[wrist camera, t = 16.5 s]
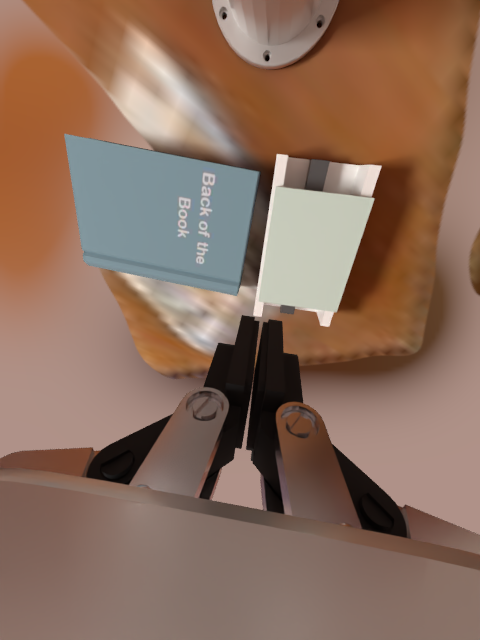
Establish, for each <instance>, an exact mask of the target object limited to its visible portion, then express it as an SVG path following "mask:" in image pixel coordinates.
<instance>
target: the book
mask: <svg viewBox="0 0 480 640" xmlns="http://www.w3.org/2000/svg"><path fill="white" fill-rule="evenodd" d="M65 141H66V148H67V154H68V161H69V167H70V174H71V180H72V187H73V193H74V200H75V207H76V213H77V219H78V226H79V233H80V239H81V246H82V250H83V251H84V253H83V259H84V262H85V263H87V264H88V265H89V266H94V267H99V268H104V269H109V270H114V271H118V272H123V273H128V274H133V275H138V276H143V277H148V278H153V279H157V280H162V281H167V282H172V283H177V284H182V285H187V286H191V287H196V288H201V289H206V290H211V291H216V292H221V293H225V294H230V295H235V296H237V294H238V291H239V288H240V284H241V278H242V273H243V267H244V262H245V256H246V251H247V245H248V239H249V234H250V228H251V223H252V217H253V212H254V206H255V201H256V195H257V190H258V184H259V179H260V173H261V172H260V171H255V170H250V169H245V168H239V167H234V166H229V165H224V164H219V163H214V162H209V161H204V160H198V159H193V158H188V157H183V156H178V155H173V154H168V153H163V152H157V151H153V150H148V149H142V148H137V147H132V146H127V145H122V144H116V143H112V142H107V141H101V140H96V139H91V138H83V137H78V136H72V135H67V134H65Z"/></svg>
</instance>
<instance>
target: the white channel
mask: <svg viewBox="0 0 480 640" xmlns="http://www.w3.org/2000/svg"><path fill="white" fill-rule="evenodd" d="M381 167H382V166H378V165H352V164H343V163H335V162H330V161H324V160H316V159H311V160H308V159H300V158H291V157H288V155H281V154H277V157H276V164H275V171H274V178H273V185H272V192H271V198H270V205H269V212H268V219H267V226H266V232H265V239H264V246H263V253H262V260H261V267H260V273H259V280H258V287H257V294H256V301H255V308H254V314H253V316H260V317H261V316H262V310H263V304H266V305H273V306H280V312H281V313H287V314H294V310H295V309H301V310H307V311H314V312H317V315H318V318H319V322H320V325H321V326H327V327H329V325H330V322H331V319H332V316H333V313H334V312H331V311H324V310H316V309H309V308H302V307H295V306H288V305H280V304H273V303H266V302H259V293H260V287H261V280H262V274H263V267H264V261H265V254H266V248H267V241H268V235H269V228H270V222H271V215H272V208H273V202H274V195H275V189H276V186H280V187H288V188H297V189H305V190H313V191H322V192H330V193H338V194H347V195H355V196H363V197H372V194H373V191H374V188H375V185H376V182H377V179H378V176H379V173H380V170H381Z"/></svg>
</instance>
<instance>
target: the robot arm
mask: <svg viewBox="0 0 480 640" xmlns="http://www.w3.org/2000/svg"><path fill="white" fill-rule="evenodd" d="M338 2H339V0H212V3H213V8H214V11H215V15H216V18H217V21H218V24H219V26H220V29H221V31H222V34H223V35H224V37H225V39H226V40H227V42H228V44H229V46H230V47H231V48H232V49H233V50H234V52H235V53H236V54H237V55H238V56H239V57H240V58H242V59H243V60H244V61H246V62H247V63H248V64H251V65H253V66H255V67H257V68H263V69H280V68H283V67H286V66H289V65H291V64H293V63H295V62H296V61H298V60H300V59H301V58H303V57H304V56H305V55H306V54H307V53H308V52H309V51H310V50H311V49H313V47H314V46H315V45H316V44H317V42H318V41H319V40H320V39H321V37H322V36H323V34H324V33H325V31H326V29H327V27H328V26H329V24H330V22H331V20H332V18H333V15H334V13H335V10H336V8H337V5H338ZM225 14H226V15H227V18H226V19H224V20H223V16H224V15H225ZM319 22H320V23H321V24H322V27H321V28H318V27H317V24H318V23H319ZM266 56H269V57H270V59H269V61H265V57H266ZM254 319H255V317H250V316H243V315H242V317H241V321H240V325H239V330H238V334H237V338H236V342H235V345H230V344H223V343H218V345H217V348H216V351H215V354H214V357H213V360H212V363H211V366H210V369H209V372H208V375H207V378H206V381H205V384H204V387H203V388H197V389H194V390H192V391H190V392H189V393H188V394H186V395H185V397H184V398H183V399H182V401H181V402H180V404H179V405H178V407H177V409H176V410H175V412H174V413H173V414H172V415H170V416H168V417H165V418H163V419H162V420H159V421H158V422H155V423H153V424H151V425H149V426H147V427H145V428H143V429H141V430H139V431H137V432H135V433H133V434H131V435H129V436H126V437H124V438H122V439H120V440H118V441H116V442H114V443H112V444H110V445H109V446H107V447H105V448H104V449H102V450H101V451H94V450H93V448H71V449H50V450H30V451H19V452H14V453H11V454H9V455H6V456H4V457H2V458H0V640H480V535H478V534H476V533H474V532H471V531H469V530H466V529H464V528H462V527H459V526H457V525H454V524H452V523H449V522H447V521H444V520H442V519H440V518H437V517H435V516H432V515H429V514H427V513H425V512H423V511H420V510H418V509H415V508H413V507H410V506H408V505H405V506H404V507H403V508H402V507H400V506H398V505H397V504H396V503H395V502H394V501H393V500H392V499H391V497H390V496H388V495H387V494H386V493H385V492H384V491H383V490H382V489H381V488H380V487H379V486H378V485H377V484H376V483H375V482H373V481H372V480H371V479H370V478H369V477H368V476H367V475H366V474H365V473H364V472H362V471H361V470H360V469H359V468H358V467H357V466H356V465H355V464H354V463H353V462H351V461H350V460H349V459H348V458H347V457H346V456H345V455H344V454H343V453H342V452H340V451H339V450H338V449H337V448H336V447H335V446H334V445H333V444H332V443H331V440H330V438H329V435H328V432H327V429H326V426H325V424H324V421H323V420H322V417H321V416H320V415H319V414H318V412H317V411H316V410H314V409H313V408H311V407H310V406H308V405H306V404H303V397H302V388H301V379H300V371H299V362H298V356H297V355H294V354H288V353H283V327H282V321H277V320H270V319H269V321H268V323H267V322H263V327H262V333H261V339H260V344H259V350H258V356H257V362H256V368H255V374H254V383H253V391H252V401H251V409H250V418H249V428H248V437H247V446H246V449H247V450H251V451H252V454H251V461H253V464H254V465H255V466H256V468H257V469H258V470H259V471H260V473H261V477H260V483H261V494H262V505H263V510H259V509H254V508H248V507H243V506H238V505H233V504H227V503H221V502H217V501H212V498H213V495H214V492H215V489H216V486H217V483H218V480H219V477H220V474H221V470H222V467H223V466H225V465H226V464H228V463H229V462H230V461H232V460H233V459H234V453H235V448H240V449H241V448H242V442H243V436H244V430H245V425H246V418H247V413H248V407H249V401H250V395H251V389H252V382H253V373H254V364H255V355H256V347H257V338H258V329H259V321H254Z"/></svg>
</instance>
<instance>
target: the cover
mask: <svg viewBox="0 0 480 640" xmlns="http://www.w3.org/2000/svg"><path fill="white" fill-rule="evenodd" d="M374 199H375V198H372V197H363V196H355V195H347V194H338V193H330V192H322V191H313V190H305V189H297V188H288V187H280V186H276V189H275V195H274V202H273V208H272V215H271V222H270V228H269V235H268V241H267V248H266V254H265V261H264V267H263V274H262V280H261V287H260V293H259V302H266V303H273V304H280V305H288V306H295V307H302V308H309V309H316V310H324V311H331V312H337V310H338V307H339V304H340V301H341V298H342V295H343V292H344V289H345V286H346V283H347V280H348V277H349V274H350V271H351V268H352V265H353V262H354V259H355V256H356V253H357V250H358V247H359V244H360V241H361V238H362V235H363V232H364V229H365V226H366V223H367V220H368V217H369V214H370V211H371V208H372V205H373V202H374Z"/></svg>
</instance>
